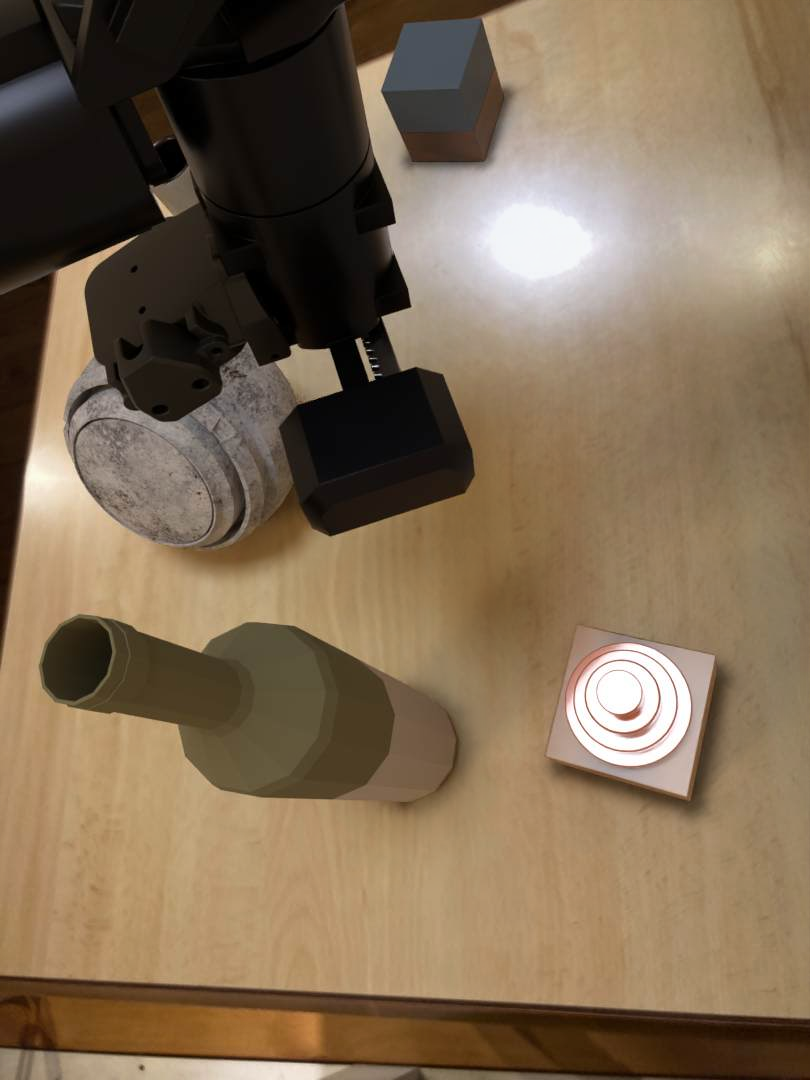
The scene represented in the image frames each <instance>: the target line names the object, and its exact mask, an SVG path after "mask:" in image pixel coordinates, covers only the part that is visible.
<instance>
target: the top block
mask: <svg viewBox="0 0 810 1080" xmlns="http://www.w3.org/2000/svg"><path fill="white" fill-rule="evenodd" d="M393 51H394V52H393V55H392V57H391V59H390V63H389V66H388V69H387V71H386V73H385V74H386V75H385V77H384V80H383V83H382V86H381V89H380V92H381V95H382V97H383V99H384V102H385V104H386V106H387V108H388V110H389V113H390V115H391V117H392V119H393V122H394V124H395V126H396V129H397V131H398V132H399V133H400V132H462V131H474V129H475V126H476V123H477V120H478V116H479V113H480V110H481V107H482V104H483V101H484V97H485V94H486V91H487V88H488V85H489V82H490V78H491V75H492V72H493V69H494V66H496V62H495V59H494V56H493V52H492V49H491V46H490V42H489V39H488V35H487V32H486V28H485V24H484V21H483V18H482V17H474V18H473V17H471V18H459V19H447V20H446V19H445V20H433V21H419V22H405V23H403V26H402V28H401V31H400V34H399V37H398V40H397V43H396V46H395V48H394V50H393Z"/></svg>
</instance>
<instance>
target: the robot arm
mask: <svg viewBox="0 0 810 1080" xmlns="http://www.w3.org/2000/svg"><path fill="white" fill-rule="evenodd" d="M349 1H350V0H0V296H2V295H4V294H7V293H9V292H12V291H13V290H15V289H18V288H20V287H22V286H24V285H27V284H29V283H32V282H34V281H36V280H39V279H41V278H44V277H45V276H47V275H50V274H52V273H55V272H57V271H59V270H61V269H65V268H66V267H68V266H71V265H74V264H75V263H78V262H80V261H82V260H85V259H87V258H89V257H91V256H94V255H96V254H98V253H101V252H104V251H106V250H108V249H110V248H112V247H115V246H117V245H120V244H122V243H124V242H127V241H129V240H130V241H129V242H127V243H126V244H125V245H122V246H121V248H119V249H118V250H116V251H115V252H113V253H112V254H110V255H109V256H108V257H106V258H105V259H103V260H102V261H101V262H99V263H98V264H97V265H96V266H95V267H94V268H93V269H92V271H91V272H90V274H89V275H88V277H87V279H86V281H85V285H84V289H83V290H84V291H83V294H84V301H85V309H86V314H87V321H88V328H89V334H90V341H91V345H92V352H93V357H94V356H95V359H96V360H97V362H98V363H100V364H101V365H103V366H105V370H106V376H107V382H108V384H109V385H111V386H113V387H114V388H116V389H117V390H118V391H119V392H120V393H121V395H122V398H123V404H124V406H125V407H126V408H127V409H129V410H132V411H142V412H143V413H145V414H147V415H149V416H150V417H152V418H154V419H156V420H158V421H160V422H174V421H178V420H180V419H181V418H183V417H184V416H186V415H188V414H189V413H191V412H193V411H194V410H196V409H197V408H199V407H201V406H202V405H204V404H205V403H207V402H209V401H210V400H212V399H214V398H215V397H217V396H218V395H219V394H220V393H221V392H222V387H223V382H222V378H221V373H220V367H221V366H222V365H224V364H225V363H227V362H228V361H230V360H232V359H233V358H234V357H236V356H237V355H238V354H239V353H240V352H241V351H242V349H243V348H244V346H245V345H246V343H247V342H248V344H249V346H250V348H251V350H252V353H253V355H254V357H255V359H256V361H257V363H258V365H259V367H260V366H264V365H267V364H270V363H273V362H275V363H276V362H279V361H282V360H285V359H288V358H290V357H291V356H292V350H291V347H293V346H296V345H297V347H298V348H299V349H302V350H310V351H313V350H314V351H318V350H328V349H329V352H330V355H331V358H332V361H333V365H334V367H335V368H334V369H335V371H336V373H337V377H338V380H339V383H340V386H341V389H342V390H339V391H336V392H333V393H330V394H327V395H324V396H321V397H318V398H315V399H311V400H309V401H306V402H302V403H298V405H296V407H295V408H294V409H293V410H292V412H291V413H290V414H289V415H288V416H287V418H286V419H285V420H284V421H283V422H282V424H281V425H280V426H279V431H280V434H281V438H282V442H283V445H284V449H285V453H286V456H287V460H288V464H289V468H290V471H291V475H292V479H293V482H294V483H293V486H294V489H295V494H296V497H297V500H298V504H299V507H300V509H301V510H302V512H303V515H304V516H305V518H306V521H307V522H308V525H310V527H311V528H310V529H312V530H314V531H316V532H319V533H321V534H323V535H325V536H328V537H334V536H338V535H341V534H345V533H346V532H351V531H354V530H356V529H359V528H362V527H365V526H369V525H371V524H372V525H373V524H375V523H378V522H381V521H384V520H387V519H389V518H393V517H397V516H399V515H403V514H405V513H408V512H412V511H415V510H417V509H421V508H424V507H428V506H431V505H434V504H436V503H439V502H443V501H446V500H448V499H451V498H455V497H458V496H461V495H464V494H466V493H467V492H468V489H469V488H470V486H471V484H472V483H473V481H474V479H475V477H476V471H475V461H474V452H473V451H474V450H473V447H472V445H471V442H470V439H469V438H468V435H467V432H466V430H465V429H466V428H465V426H464V423H463V421H462V419H461V417H460V414H459V411H458V409H457V406H456V405H455V401H454V399H453V396H452V394H451V391H450V389H449V385H448V384H447V381H446V378H445V376H444V374H443V373H440V372H436V371H432V370H429V369H425V368H421V367H418V366H414V367H411V368H408V369H405V370H402V369H401V366H400V363H399V361H398V358H397V356H396V353H395V350H394V347H393V344H392V342H391V339H390V336H389V334H388V333H389V332H388V330H387V328H386V324H385V322H384V320H383V317H386V316H389V315H391V314H395V313H398V312H401V311H404V310H407V309H410V308H412V302H411V298H410V292H409V287H408V285H407V282H406V280H405V277H404V275H403V272H402V269H401V267H400V264H399V261H398V259H397V256H396V254H395V251H394V248H392V243H391V237H390V232H389V228H388V227H390V226H393V225H395V224H397V220H396V219H397V218H396V214H395V207H394V202H393V199H392V196H391V192H390V190H389V188H388V186H387V183H386V181H385V178H384V175H383V174H382V170H381V168H380V166H379V163H378V161H377V158H376V155H375V153H374V149H373V145H372V138H371V133H370V128H369V125H368V121H367V115H366V110H365V109H366V108H365V104H364V99H363V94H362V93H363V92H362V90H361V89H362V88H361V83H360V77H359V73H358V69H357V68H358V67H357V63H356V62H357V61H356V57H355V52H354V47H353V42H352V37H351V31H350V27H349V26H350V25H349V22H348V15H347V11H346V5H345V4H346V2H349ZM152 89H154V90H155V92H156V94H157V97H158V99H159V102H160V103H161V106H162V109H163V110H164V113H165V115H166V117H167V120H168V122H169V125H170V127H171V128H172V131H173V133H175V136H176V138H177V140H178V142H179V145H180V147H181V149H182V151H183V154H184V156H185V158H186V161H187V163H188V165H189V167H190V175H191V179H192V183H193V187H194V190H195V193H196V196H197V198H198V200H199V203H197V204H195V205H194V206H192V207H190V208H188V209H186V210H185V211H183V212H181V213H179V214H178V215H176V216H173V215H171V216H165V215H164V212H163V211H162V208H161V206H160V205H159V201H158V200H157V197H156V195H155V194H154V193H153V192H152V190H151V188H150V186H149V185H151V184H153V186H154V187H157V186H159V185H161V184H163V183H166V182H168V181H170V179H169V177H168V175H167V173H166V170H165V168H164V166H163V164H162V162H161V160H160V158H159V156H158V153H157V151H156V149H155V147H154V145H153V143H154V142H153V141H152V139H151V136H150V134H149V133H148V130H147V128H146V126H145V124H144V122H143V120H142V117H141V116H140V113H139V111H138V109H137V107H136V105H135V103H134V101H133V98H134V97H136V96H138V95H140V94H143V93H145V92H148V91H150V90H152ZM358 339H360V340H361V342H362V346H363V348H364V352H365V355H366V356H367V361H368V363H369V365H370V370H371V372H372V374H373V379H374V380H370V378H369V375H368V373H367V371H366V368H365V364H364V361H363V358H362V355H361V352H360V349H359V346H358V343H357V341H356V340H358Z"/></svg>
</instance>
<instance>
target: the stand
mask: <svg viewBox="0 0 810 1080" xmlns="http://www.w3.org/2000/svg"><path fill="white" fill-rule="evenodd" d="M621 642H632V643H638V644H643V645H646V646H649V647H652V648H654V649H656V650H658V651H660V652H661V653H663V654H664V655H666V656H667V657H668V658H670V659H671V660H672V661H673V662H674V663H675V664H676V665H677V667H678V668H679V669H680V671H681V672H682V674H683V675H684V677H685V679H686V681H687V683H688V686H689V689H690V693H691V697H692V705H693V716H692V723H691V726H690V730H689V732H688V734H687V737H686V739H685V740H684V742H683V743H682V745H681V746H680V747H679V748H678V750H677V751H676V752H675V753H673V754H672V755H671V756H670V757H669V758H667V759H666V760H664V761H662V762H660V763H658V764H656V765H653V766H650V767H645V768H639V769H628V768H620V767H616V766H613V765H610V764H607V763H605V762H603V761H601V760H599V759H598V758H596V757H595V756H593V755H592V754H590V753H589V752H588V751H587V750H586V749H585V748H584V747H583V746H582V745H581V744H580V743H579V742H578V740H577V739H576V737H575V736H574V734H573V733H572V731H571V729H570V726H569V724H568V721H567V717H566V712H565V693H566V688H567V684H568V681H569V679H570V677H571V675H572V673H573V671H574V670H575V668H576V667H577V665H578V664H579V663H580V662H581V661H582V660H583V659H584V658H585V657H586V656H587V655H589V654H590V653H592V652H593V651H595V650H597V649H599V648H601V647H603V646H606V645H609V644H614V643H621ZM716 678H717V655H716V654H715V653H710V652H705V651H699V650H695V649H691V648H686V647H681V646H678V645H673V644H670V643H669V644H668V643H664V642H659V641H654V640H651V639H646V638H641V637H637V636H633V635H627V634H623V633H620V632H619V633H618V632H614V631H610V630H604V629H601V628H596V627H591V626H586V625H584V624H583V625H582V624H576V625H575V629H574V632H573V637H572V640H571V644H570V649H569V653H568V658H567V662H566V666H565V669H564V673H563V679H562V681H561V686H560V690H559V695H558V699H557V703H556V706H555V710H554V715H553V717H552V718H553V719H552V723H551V727H550V731H549V735H548V740H547V743H546V748H545V752H544V758H547V759H549V760H551V761H553V762H556V763H557V764H561V765H563V766H567V767H570V768H573V769H576V770H581V771H584V772H587V773H590V774H594V775H596V776H597V775H598V776H600V777H604V778H608V779H611V780H615V781H618V782H622V783H625V784H628V785H631V786H635V787H639V788H643V789H646V790H649V791H653V792H657V793H660V794H663V795H667V796H671V797H672V798H673V797H674V798H677V799H680V800H684V801H688V802H691V800H692V796H693V791H694V786H695V782H696V776H697V771H698V767H699V761H700V757H701V752H702V748H703V747H702V746H703V743H704V737H705V732H706V727H707V724H708V723H707V722H708V718H709V712H710V708H711V704H712V703H711V702H712V697H713V692H714V688H715V683H716Z"/></svg>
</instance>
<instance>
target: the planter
mask: <svg viewBox="0 0 810 1080" xmlns="http://www.w3.org/2000/svg"><path fill="white" fill-rule="evenodd" d="M152 143H153V145H154V147H155V149H156V151H157V153H158V156H159V158H160V160H161V162H162V164H163V166H164V168H165V170H166V173H167V175H168V177H169V179H170V181H168V182H166V183H163V184H161V185H159V186H157V187H154V186H153V184H151V185H149V186H150V188H151V190H152V192H153V194H154V196H155V198H156V199H158V200H159V201H160V202H161V204H162V205H163V206H164V207H165V208H166V210H168V212H169V213H170V214H171V216H176V215H178V214H179V213H181V212H183V211H185V210H186V209H188V208H190V207H192V206H194V205H195V204H197V203H199V200H198V198H197V196H196V193H195V190H194V187H193V183H192V179H191V175H190V167H189V165H188V163H187V161H186V158H185V156H184V154H183V151H182V149H181V147H180V145H179V142H178V140H177V138H176V136H175V133H174V132H173V133H168V134H165V135H163V136H162V137H159V138H158V139H156V140H155V141H154V142H152Z"/></svg>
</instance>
